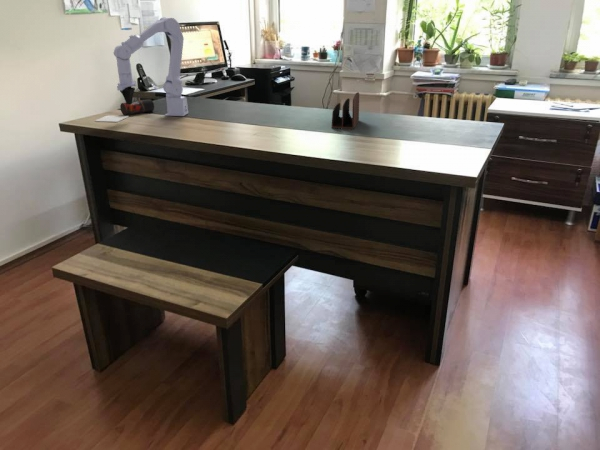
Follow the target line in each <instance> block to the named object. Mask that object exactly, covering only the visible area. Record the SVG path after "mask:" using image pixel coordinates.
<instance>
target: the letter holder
mask: <svg viewBox="0 0 600 450" xmlns="http://www.w3.org/2000/svg"><path fill="white" fill-rule="evenodd" d="M350 101H351V98H350V97H349V98H346V99H345V100H344V102H343V105H342V112H341V113H342V115H341V116H340V111H341V103H339V102H338V103H336V104H335V106H334V107H333V109H332V113H331V114H332V115H331V129H332V128H342V129H341V130H349V129H353V130H354V129H355V127H356V125H358V124H357V123H358V122H359V120H360V92H356V93H355V94H354V96H353V99H352V116H351V113H350V103H351V102H350Z"/></svg>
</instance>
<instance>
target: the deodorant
mask: <svg viewBox="0 0 600 450" xmlns="http://www.w3.org/2000/svg"><path fill="white" fill-rule="evenodd" d="M154 110H155V104H154V101H153V99H142V100H135V101H134V100H133V101H132V104H126V102H122V103H120V112H121V114H122V116H129V115H130V116H131V115H135V114H142V113H150V112H153V111H154Z"/></svg>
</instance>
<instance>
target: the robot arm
mask: <svg viewBox="0 0 600 450" xmlns="http://www.w3.org/2000/svg"><path fill="white" fill-rule="evenodd" d="M158 33H164V34H166V35H167V36H168V38H169V39H170V40H171V44H170V53H169V54H170V56H169V65H168V66H169V67H168V75H167V76H166V77H165V81H164V83H163V86H162V87H163V91H164V92H165V93H166V94H165V99H166V109H167V113H165V114H164V116H167V117H168V116H169V117H171V116H173V117H174V116H175V117H185V116H186V115H188V114H189V113H190V112H189V107H188V99H187V96H184V95H183V96H182V93H183V91H184V89H183V85H182V83H183V82H182V79H181V77H180V76H181V68H182V57H183V49H184V48H183V47H184V39H185V38H184V35H183V33H182V29H181V24H180V23H179V22H178V21H177V19H175V18H173V17H164V16H163V17H161V18H160V19H157V20H156V21H154V22H153V23H152V24H151V25H149V26H148V27H147V28H146V29H144V30H143V32H141V33H140V34H139V35H137V34H131V35H130V36H128V37H129V38H128V39H126V40H125V41H122V42H121V43H120V44H121V45H120V44H119V45H116V46H115V47H114V49H113V55H114V57H115V58H116V65H117V67H116V68H117V72H118V79H119V83H117V86H116V89H117V91H119V92H120V93H121V94H122V96H123V98H124V102H125V103H126V104H132V102H133V99H134V93H135V90H136V88H135V86H137V84H136V81H134V79H133V72H132V65H131V60H130V58H131V56H132V55H133V54H135V53H136V52H137V51H138V50H140V49H141V48H142V47H143V46H144V43H145V41H147V40H148V39H150V38H151V37H153V36H154V35H156V34H158Z"/></svg>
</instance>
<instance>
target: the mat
mask: <svg viewBox="0 0 600 450" xmlns="http://www.w3.org/2000/svg"><path fill="white" fill-rule="evenodd" d="M129 117H130V116H129V115H105V116H102V117H100V118H97V119H95V120H94V122H96V123H97V122H98V123H99V122H101V123H119V122H121V121H123V120H125V119H128V118H129Z"/></svg>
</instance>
